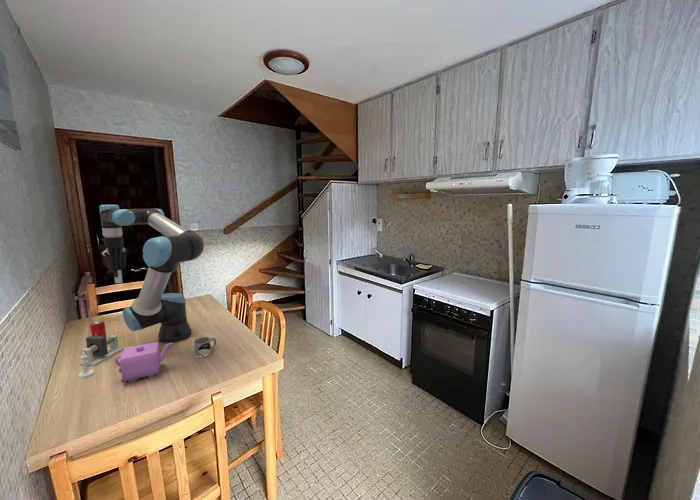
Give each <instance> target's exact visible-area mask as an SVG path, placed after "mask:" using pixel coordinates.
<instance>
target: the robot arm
mask: <svg viewBox="0 0 700 500" xmlns="http://www.w3.org/2000/svg"><path fill="white" fill-rule="evenodd" d="M98 213H99V216H100V222H101V230H102V236H103V238H102V239H103V244H104V246H105V248H104V251H102V252H100V255H101V256H102V258H103V260H104V263H105V265H106V267H107V270H108V271H112V276H113V278H114V284H123V271H124V269H125V268H126V264H127V253H128V251H129V249H128V248H126V247H124V246H123V244H124V237H123V228H122V227H124V226H127V227H129V226H133V225H149V226H150V227H152V228H153V229H154V230H156V231H158V232H159V233H161V234H162V236H157V237H151V238H149V239H148V240H147V241H145V243H144V245H143V247H142V253H143V254H142V259H143V261H144V263H145V264H146V265H147V267H148V269H147V272H146V274H145V278H144V280H143V283H142V285H141V288H140V289H141V290H140V292H139V294H138V297H136V298H135V299H134V300H133V301H132V304H131V306H127V307H125V308H123V310H122V317H123V320H124V321H123V322H124V323H125V325H126V326H127V328H128V329H129V330H130V331H131V332H138V331H140V330H141V331H142V330H144V329H147V328H150V327H153V326H156V325H159V324H160V327H159V332H158V335H157V338H158V341H157V342H158V343H162V344H168V343H173V344H175V343H178V342H182V341H185V340H186V339H188V338H190V337H191V336H192V335H193V334H192V332H193V331H192V328H191V327H190V324H189V322H188V319H187V308H186V306H187V305H186V302H187V301H186V297H185V295H184V294H183V293H179V292H170V293H169V292H166V293H165V290H166V287H167V284H168V282H169V280H170V277H171V275H172V273H174V272H175V271H177V269H178V267H179V266H180V264H181V263H184V262H190V261H193V260H196V259H198V258H199V257H200V256H201V255H202V253H203V252H204V249H205V243H204V239H203V238H202V236H201V235H200V234H198V233H196V232H195V231H194V230H191V229H186V228H184V227H183V226H181V225H180V224H178V223H176V222H174V221H173V220H171V219H170V218H168V217H166V216H165V212H164V211H163V209H161V208H129V209H128V208H123V209H120V206H119V205H118V204H101V205H99V212H98Z"/></svg>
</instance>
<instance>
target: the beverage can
mask: <svg viewBox="0 0 700 500" xmlns="http://www.w3.org/2000/svg"><path fill="white" fill-rule="evenodd" d="M90 331H91V332H90V333H91V336H102V337H106V339H108V338H107V332H106V324H105V322H104V320H95V321H92V322H91V323H90Z"/></svg>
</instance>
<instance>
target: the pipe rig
mask: <svg viewBox="0 0 700 500" xmlns="http://www.w3.org/2000/svg"><path fill="white" fill-rule="evenodd" d="M106 343H107V345H109V347H107V350H108V354H107V355H105V356H103V357H102V356H93V354H92V352H95V351H97V350H99V347H98V344H95V345H93V346H91V347H90V348H82V349H81V353H82V352H84V354H85V355H87V358H86V360H88V362H87V367H96V366H98V365H99V364H101V363H102V362H105V361H107V360H108V359H110V358H112V357H113V356H115V355H118V353H120V352H123V350H124V348H123V347H120V345H119V338H118V335H108V338H107V339H106ZM81 356H83V354H82V355H81ZM79 365H80V366H83V364H81V362H79Z"/></svg>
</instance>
